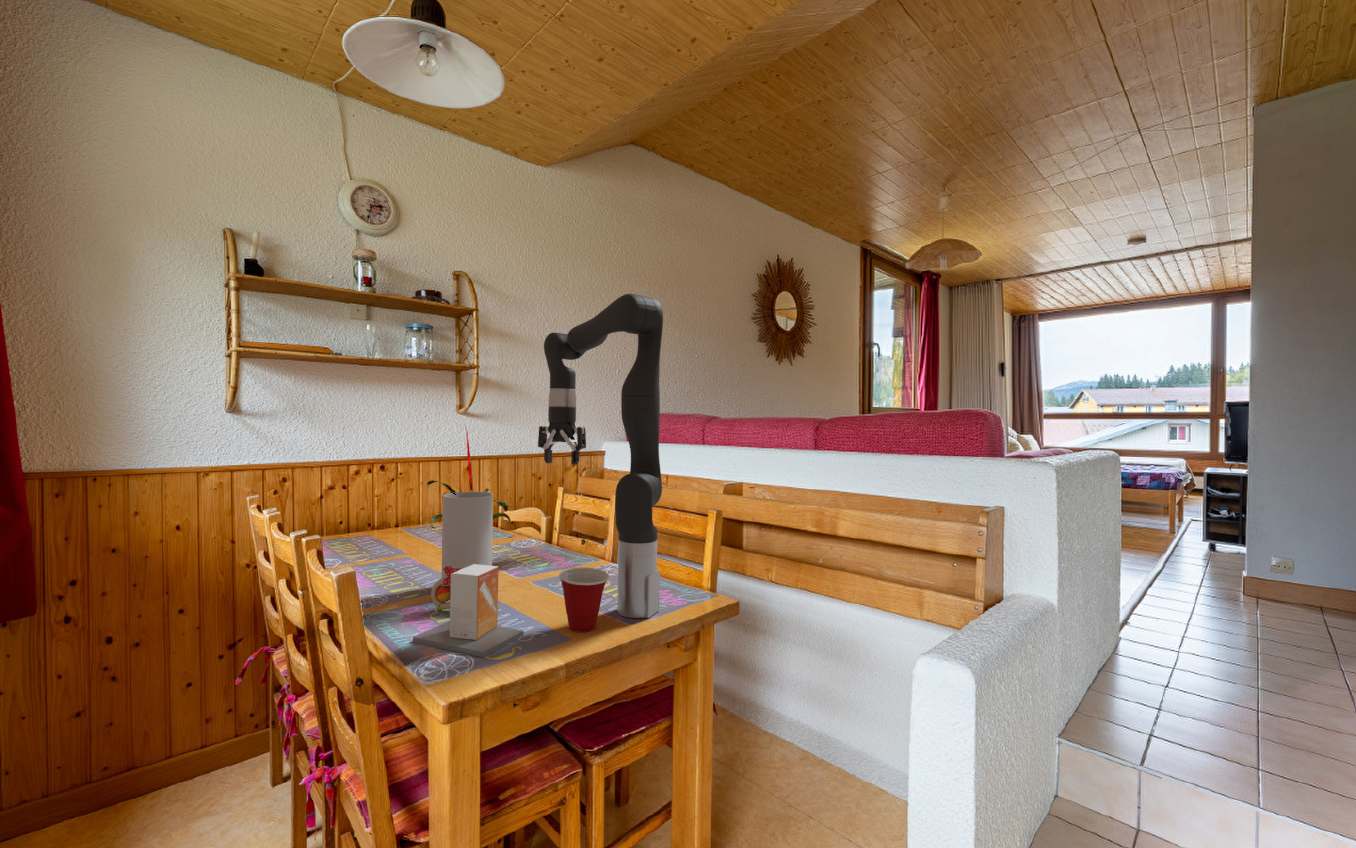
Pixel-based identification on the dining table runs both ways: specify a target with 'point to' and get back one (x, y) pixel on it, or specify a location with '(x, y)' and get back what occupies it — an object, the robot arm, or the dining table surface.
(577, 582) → the plastic cup
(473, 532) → the cylinder vase
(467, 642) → the slate tile
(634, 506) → the robot arm
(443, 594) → the bird rattle
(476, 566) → the small box
